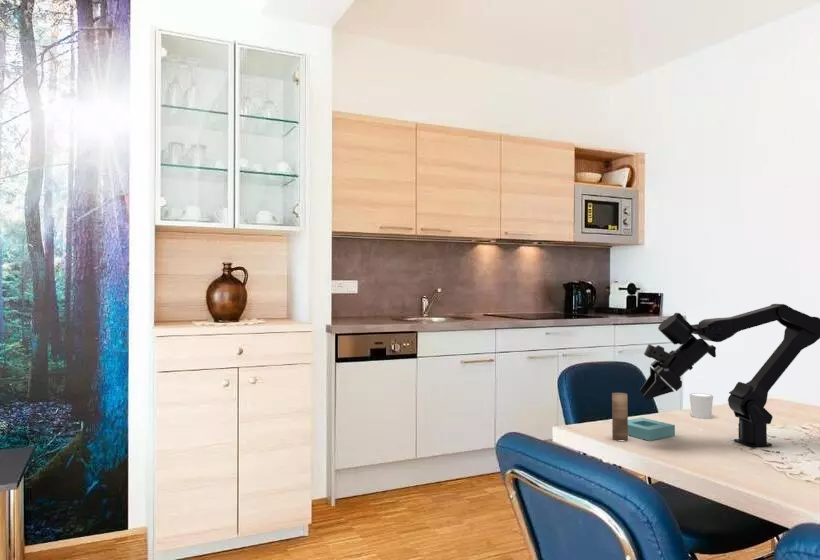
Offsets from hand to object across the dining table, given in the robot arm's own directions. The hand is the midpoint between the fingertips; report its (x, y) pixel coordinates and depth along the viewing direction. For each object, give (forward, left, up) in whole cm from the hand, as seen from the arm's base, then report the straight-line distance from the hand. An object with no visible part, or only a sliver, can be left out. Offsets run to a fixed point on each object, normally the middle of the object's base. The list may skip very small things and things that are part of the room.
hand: (642, 395), depth 163 cm
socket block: (+7, -5, -12) cm, 15 cm away
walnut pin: (+3, +5, -12) cm, 14 cm away
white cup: (+24, -35, -12) cm, 44 cm away
